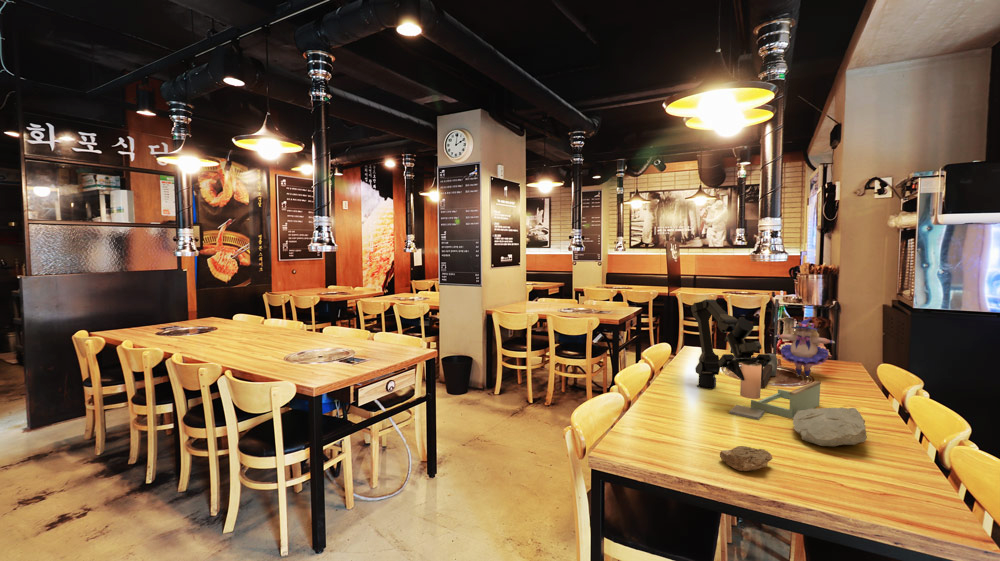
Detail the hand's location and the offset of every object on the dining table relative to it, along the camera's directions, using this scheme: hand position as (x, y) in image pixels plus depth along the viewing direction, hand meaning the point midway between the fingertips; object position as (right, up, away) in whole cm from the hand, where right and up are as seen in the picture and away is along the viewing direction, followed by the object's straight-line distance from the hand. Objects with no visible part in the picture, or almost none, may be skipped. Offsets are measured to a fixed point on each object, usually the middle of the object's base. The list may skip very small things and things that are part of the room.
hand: (752, 379), depth 174 cm
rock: (-25, -16, -42) cm, 52 cm away
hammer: (+32, -11, +46) cm, 57 cm away
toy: (+55, -10, +54) cm, 77 cm away
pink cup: (0, -6, +2) cm, 7 cm away
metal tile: (-1, -13, +2) cm, 14 cm away
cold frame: (+19, -13, +9) cm, 25 cm away
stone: (+14, -15, -19) cm, 28 cm away
